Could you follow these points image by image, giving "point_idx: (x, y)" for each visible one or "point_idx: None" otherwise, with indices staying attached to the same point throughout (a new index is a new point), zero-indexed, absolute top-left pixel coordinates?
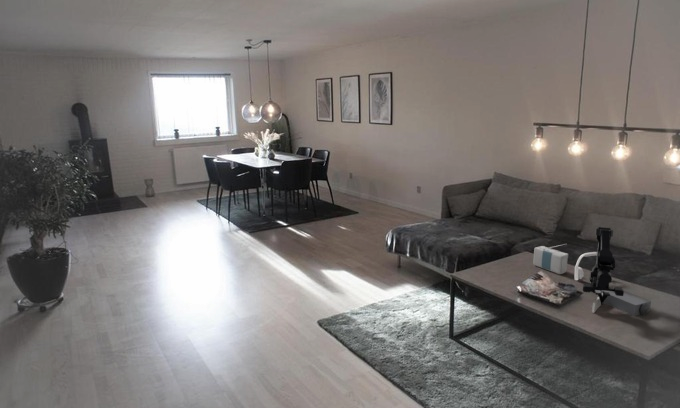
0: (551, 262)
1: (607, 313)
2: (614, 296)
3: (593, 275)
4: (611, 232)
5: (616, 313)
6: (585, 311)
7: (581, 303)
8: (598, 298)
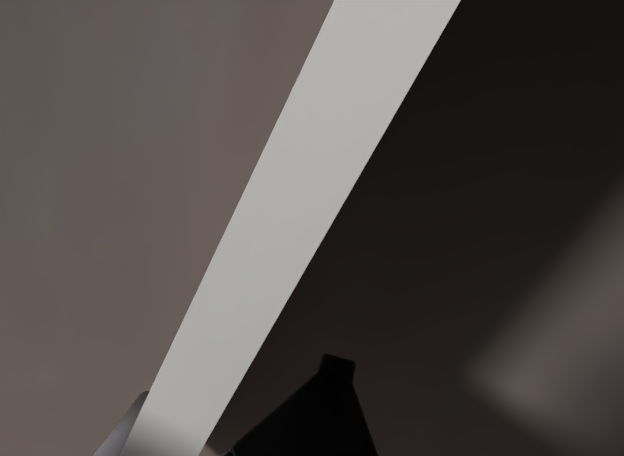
0: None
1: (429, 416)
2: None
3: None
4: None
5: (618, 402)
6: (83, 381)
7: (11, 28)
8: (207, 386)
